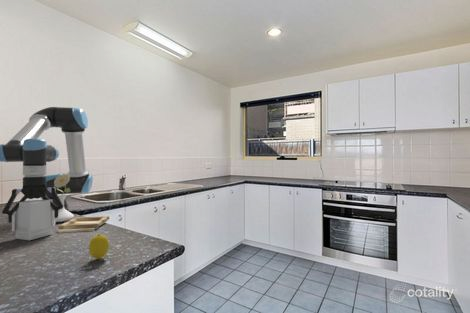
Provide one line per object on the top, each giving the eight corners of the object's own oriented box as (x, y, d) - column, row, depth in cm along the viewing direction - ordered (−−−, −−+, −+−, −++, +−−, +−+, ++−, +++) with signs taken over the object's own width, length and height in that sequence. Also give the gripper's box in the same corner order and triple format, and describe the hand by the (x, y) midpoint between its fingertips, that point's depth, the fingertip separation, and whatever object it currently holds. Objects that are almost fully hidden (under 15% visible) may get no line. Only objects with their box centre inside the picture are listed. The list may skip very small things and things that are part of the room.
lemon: (94, 256, 78) (94, 231, 78) (111, 255, 79) (111, 231, 79) (85, 263, 73) (85, 237, 73) (104, 262, 73) (104, 236, 73)
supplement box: (53, 234, 102) (53, 199, 102) (29, 241, 93) (29, 202, 93) (39, 232, 105) (39, 198, 105) (14, 238, 96) (14, 201, 96)
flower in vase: (42, 222, 122) (43, 173, 122) (67, 217, 132) (67, 172, 132) (56, 225, 116) (56, 174, 116) (80, 220, 126) (80, 172, 126)
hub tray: (77, 221, 123) (77, 216, 123) (110, 219, 126) (110, 215, 126) (55, 232, 104) (55, 227, 104) (95, 230, 107) (95, 225, 107)
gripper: (-9, 177, 90) (-10, 235, 89) (69, 175, 102) (69, 225, 102) (-2, 176, 96) (-3, 230, 96) (70, 174, 109) (70, 221, 108)
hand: (34, 228), depth 99 cm, fingers closed on supplement box, 12 cm apart
